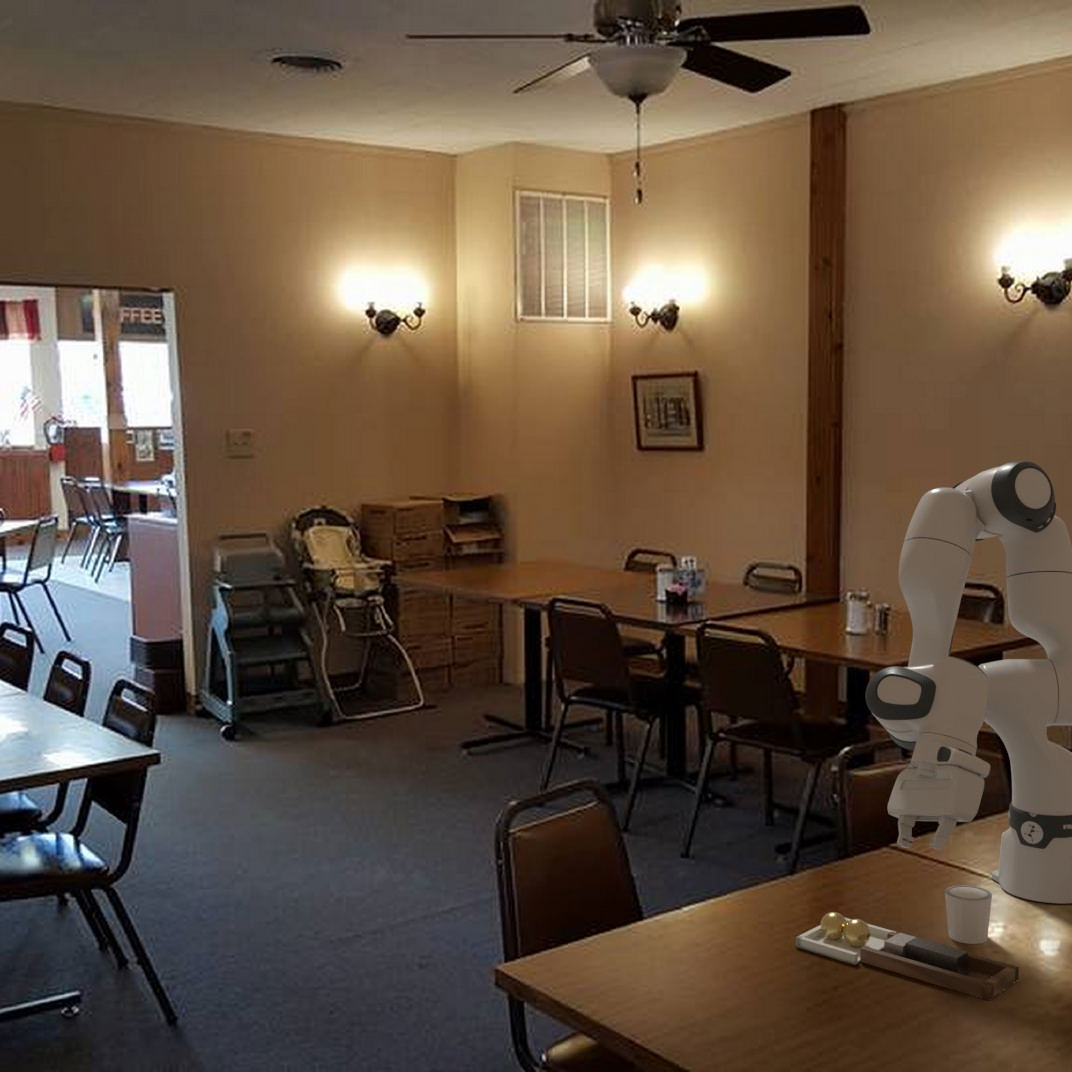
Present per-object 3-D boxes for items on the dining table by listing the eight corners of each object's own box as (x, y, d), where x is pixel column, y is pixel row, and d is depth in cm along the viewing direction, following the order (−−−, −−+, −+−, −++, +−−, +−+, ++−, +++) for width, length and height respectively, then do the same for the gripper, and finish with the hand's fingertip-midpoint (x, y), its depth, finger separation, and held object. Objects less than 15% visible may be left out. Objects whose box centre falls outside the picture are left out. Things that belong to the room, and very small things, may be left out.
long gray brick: (900, 930, 193) (970, 950, 186) (900, 954, 194) (970, 975, 186) (884, 939, 190) (954, 959, 182) (884, 963, 190) (954, 984, 183)
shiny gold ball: (846, 940, 200) (826, 923, 202) (856, 920, 198) (836, 903, 201) (831, 948, 197) (811, 930, 199) (842, 928, 195) (821, 910, 198)
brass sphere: (871, 947, 197) (849, 931, 199) (879, 925, 195) (857, 910, 198) (856, 955, 194) (834, 940, 196) (864, 934, 192) (842, 918, 195)
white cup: (994, 946, 196) (995, 901, 195) (946, 944, 197) (947, 898, 197) (988, 930, 202) (989, 885, 202) (942, 927, 204) (942, 883, 203)
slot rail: (891, 944, 197) (891, 931, 197) (1018, 980, 183) (1018, 966, 183) (860, 961, 191) (860, 948, 191) (989, 1000, 177) (989, 986, 177)
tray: (838, 925, 205) (838, 915, 205) (896, 941, 198) (896, 931, 198) (795, 946, 197) (795, 937, 197) (854, 964, 190) (854, 954, 190)
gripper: (890, 755, 211) (868, 838, 207) (960, 750, 191) (937, 842, 188) (924, 769, 212) (902, 852, 208) (997, 766, 192) (975, 857, 189)
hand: (919, 847), depth 198 cm, fingers open, 8 cm apart
